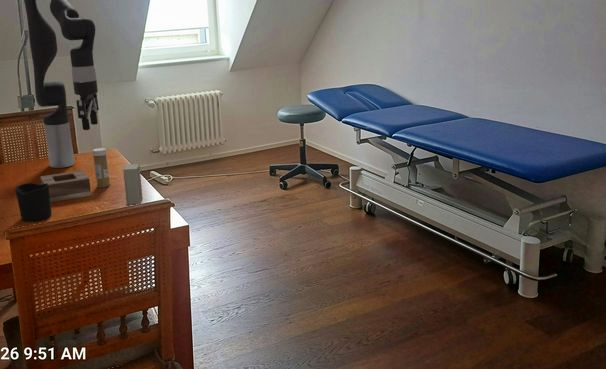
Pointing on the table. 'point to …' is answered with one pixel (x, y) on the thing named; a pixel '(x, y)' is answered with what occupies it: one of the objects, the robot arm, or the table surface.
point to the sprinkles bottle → (101, 167)
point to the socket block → (67, 185)
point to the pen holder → (33, 201)
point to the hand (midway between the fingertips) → (90, 127)
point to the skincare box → (132, 184)
